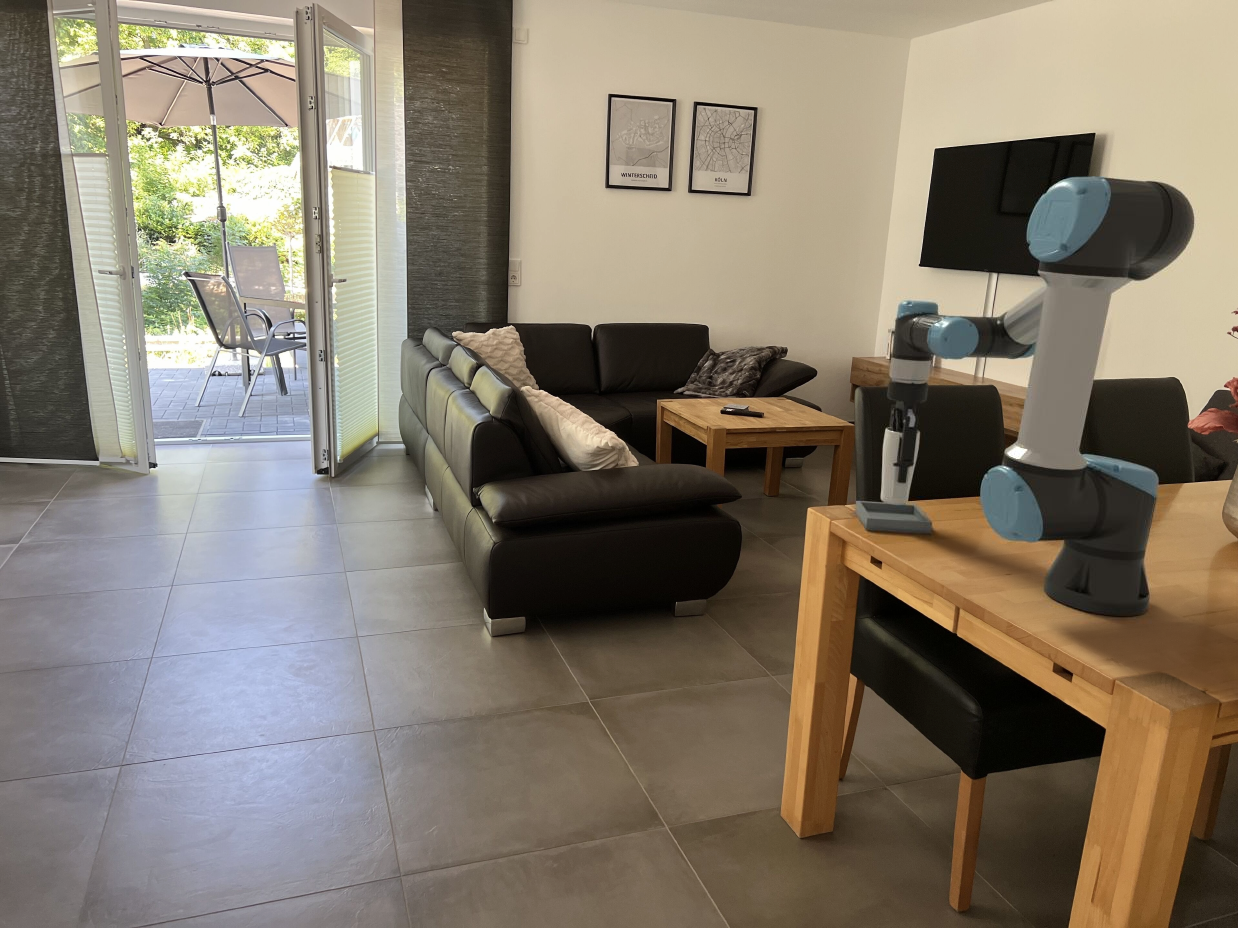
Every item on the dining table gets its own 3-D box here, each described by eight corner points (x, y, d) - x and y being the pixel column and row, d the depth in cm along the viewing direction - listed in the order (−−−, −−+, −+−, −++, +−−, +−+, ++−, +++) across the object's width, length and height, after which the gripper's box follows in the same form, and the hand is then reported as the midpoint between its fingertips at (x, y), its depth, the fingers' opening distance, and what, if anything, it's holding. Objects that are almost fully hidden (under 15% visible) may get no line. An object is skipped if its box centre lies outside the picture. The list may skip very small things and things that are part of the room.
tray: (930, 534, 174) (932, 522, 173) (865, 530, 175) (867, 518, 174) (915, 516, 186) (916, 504, 186) (854, 512, 187) (856, 500, 187)
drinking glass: (915, 507, 176) (925, 434, 173) (881, 506, 176) (890, 432, 173) (905, 498, 183) (914, 427, 179) (872, 496, 183) (881, 425, 179)
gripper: (941, 388, 164) (925, 507, 170) (916, 374, 182) (903, 482, 188) (900, 386, 165) (885, 504, 170) (879, 372, 183) (867, 480, 189)
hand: (894, 492), depth 179 cm, fingers closed on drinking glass, 6 cm apart
